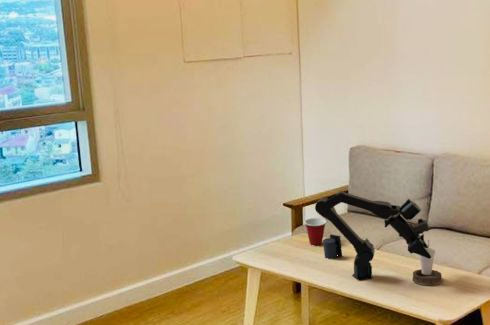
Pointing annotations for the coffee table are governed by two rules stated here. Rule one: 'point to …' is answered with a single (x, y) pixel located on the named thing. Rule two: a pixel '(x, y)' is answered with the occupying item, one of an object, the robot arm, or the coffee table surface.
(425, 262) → the smoothie
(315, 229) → the plastic cup
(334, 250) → the speaker
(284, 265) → the coffee table surface
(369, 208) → the robot arm
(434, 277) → the bowl
